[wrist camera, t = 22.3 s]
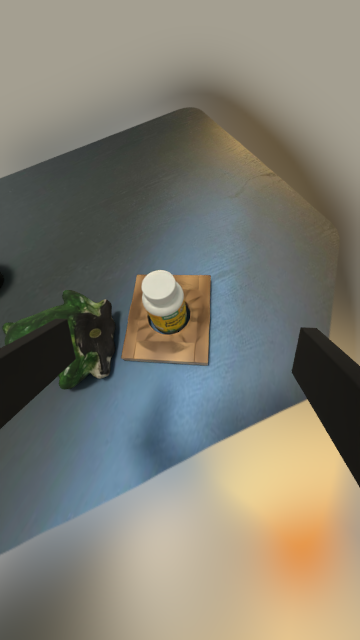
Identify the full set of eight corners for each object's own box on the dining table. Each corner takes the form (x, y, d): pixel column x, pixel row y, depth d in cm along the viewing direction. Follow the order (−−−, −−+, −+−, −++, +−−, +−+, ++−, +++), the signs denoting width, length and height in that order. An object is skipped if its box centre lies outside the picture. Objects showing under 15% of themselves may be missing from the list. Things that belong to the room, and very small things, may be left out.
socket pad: (210, 280, 36) (211, 275, 34) (208, 365, 30) (208, 363, 29) (139, 279, 37) (136, 274, 36) (123, 360, 32) (120, 358, 30)
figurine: (116, 291, 33) (28, 296, 35) (83, 278, 24) (-31, 286, 27) (118, 381, 33) (29, 381, 35) (85, 401, 24) (-31, 399, 26)
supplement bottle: (171, 296, 35) (160, 257, 27) (194, 317, 33) (191, 282, 25) (145, 318, 34) (126, 284, 25) (168, 341, 32) (156, 313, 23)
